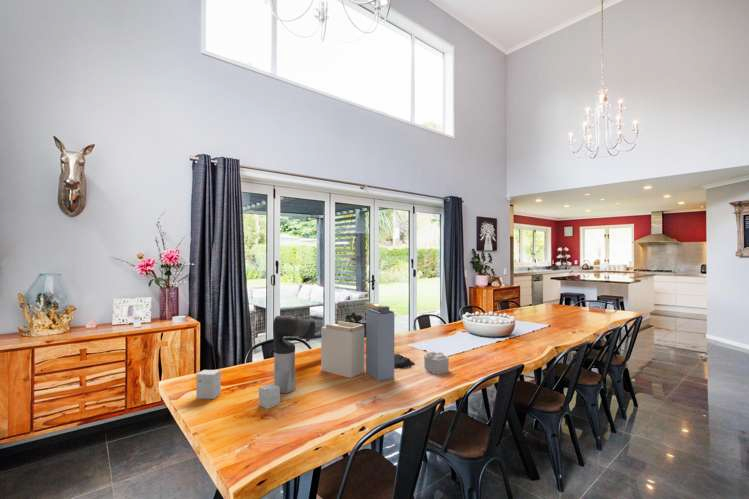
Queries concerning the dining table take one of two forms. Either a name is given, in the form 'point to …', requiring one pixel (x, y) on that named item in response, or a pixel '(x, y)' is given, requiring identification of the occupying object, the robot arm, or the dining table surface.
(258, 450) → the dining table surface
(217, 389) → the small box
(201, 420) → the dining table surface
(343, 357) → the upright beige carton
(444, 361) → the lumpy-topped squat cylinder
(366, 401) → the dining table surface
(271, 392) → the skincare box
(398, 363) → the dark slate chunk
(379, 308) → the pin
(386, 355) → the post
